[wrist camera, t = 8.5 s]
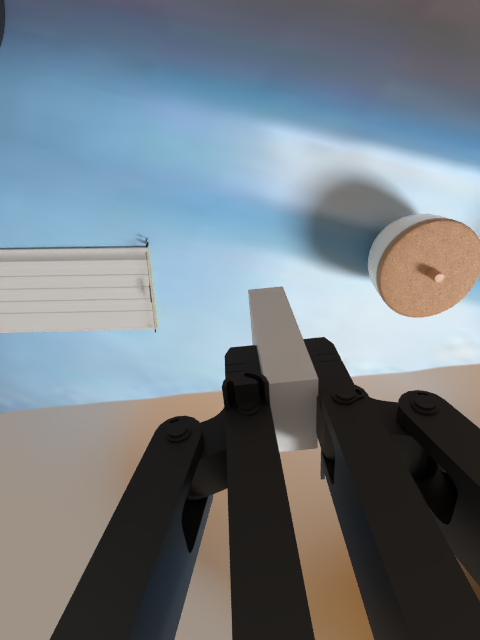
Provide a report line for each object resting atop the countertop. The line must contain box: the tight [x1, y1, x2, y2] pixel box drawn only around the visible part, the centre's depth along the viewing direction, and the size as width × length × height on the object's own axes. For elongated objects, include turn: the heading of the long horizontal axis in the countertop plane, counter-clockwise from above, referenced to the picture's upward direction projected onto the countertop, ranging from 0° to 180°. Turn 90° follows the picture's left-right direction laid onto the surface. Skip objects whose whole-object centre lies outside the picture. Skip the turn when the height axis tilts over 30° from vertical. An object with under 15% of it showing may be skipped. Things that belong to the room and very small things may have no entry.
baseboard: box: [0, 238, 157, 333], centre depth 45 cm, size 31×3×12 cm
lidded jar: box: [368, 214, 480, 317], centre depth 42 cm, size 11×11×9 cm
